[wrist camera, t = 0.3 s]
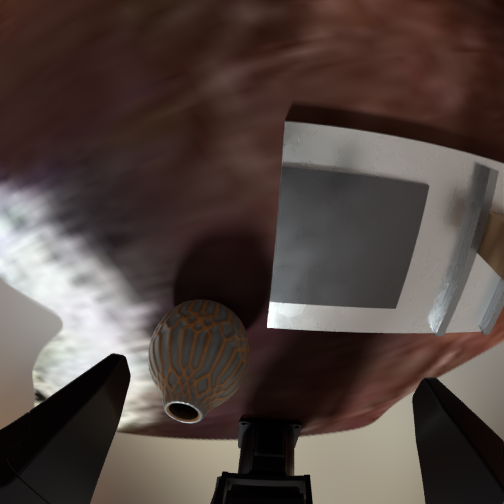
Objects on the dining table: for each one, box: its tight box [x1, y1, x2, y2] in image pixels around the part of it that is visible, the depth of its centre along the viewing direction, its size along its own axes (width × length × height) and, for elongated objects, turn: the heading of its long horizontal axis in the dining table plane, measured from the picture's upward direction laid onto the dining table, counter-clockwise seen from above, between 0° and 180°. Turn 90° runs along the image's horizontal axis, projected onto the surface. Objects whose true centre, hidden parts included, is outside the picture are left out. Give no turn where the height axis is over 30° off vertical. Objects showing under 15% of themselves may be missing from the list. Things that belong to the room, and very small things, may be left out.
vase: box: [148, 299, 250, 423], centre depth 21 cm, size 7×7×9 cm
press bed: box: [267, 120, 504, 336], centre depth 19 cm, size 14×19×2 cm
